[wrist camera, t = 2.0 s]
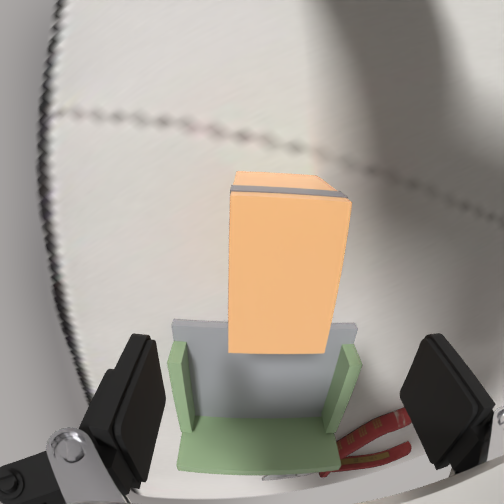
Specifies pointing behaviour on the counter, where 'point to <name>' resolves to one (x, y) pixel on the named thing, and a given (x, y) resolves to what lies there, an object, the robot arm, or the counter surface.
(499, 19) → the counter surface
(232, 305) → the chute block
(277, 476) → the pliers
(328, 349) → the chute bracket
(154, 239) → the counter surface
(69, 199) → the counter surface
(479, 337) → the counter surface
